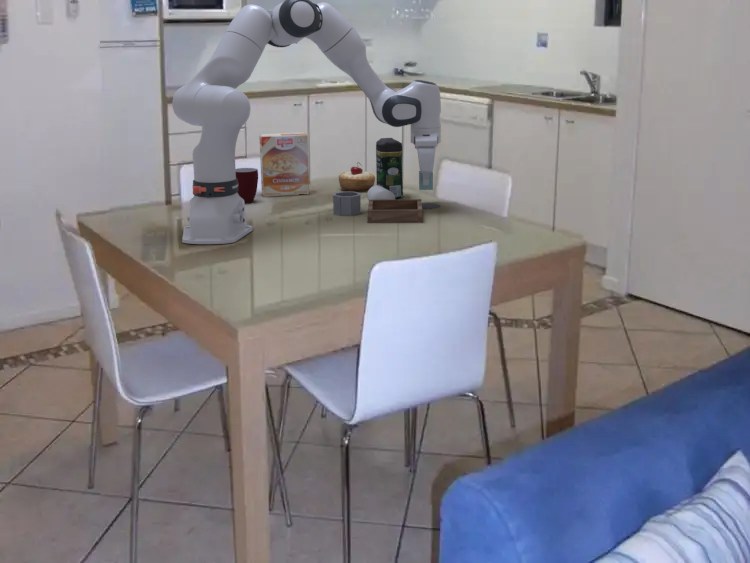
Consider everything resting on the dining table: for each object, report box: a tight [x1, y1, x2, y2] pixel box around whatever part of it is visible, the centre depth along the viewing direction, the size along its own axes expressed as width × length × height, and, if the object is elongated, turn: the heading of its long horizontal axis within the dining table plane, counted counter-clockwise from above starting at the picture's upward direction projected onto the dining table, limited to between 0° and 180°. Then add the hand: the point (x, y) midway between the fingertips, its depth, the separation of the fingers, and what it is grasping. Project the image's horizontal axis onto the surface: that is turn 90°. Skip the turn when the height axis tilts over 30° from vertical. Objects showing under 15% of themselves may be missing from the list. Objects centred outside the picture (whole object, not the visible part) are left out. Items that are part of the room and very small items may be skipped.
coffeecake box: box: [258, 131, 310, 198], centre depth 296 cm, size 15×7×20 cm, turn 103°
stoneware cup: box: [332, 191, 362, 216], centre depth 267 cm, size 8×8×6 cm
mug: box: [235, 167, 259, 204], centre depth 287 cm, size 10×8×10 cm
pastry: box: [338, 161, 376, 192], centre depth 304 cm, size 12×12×9 cm
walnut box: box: [366, 198, 423, 224], centre depth 261 cm, size 15×15×4 cm
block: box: [418, 170, 434, 191], centre depth 273 cm, size 4×4×5 cm
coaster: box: [422, 202, 441, 211], centre depth 275 cm, size 9×9×1 cm
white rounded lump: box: [366, 184, 397, 202], centre depth 276 cm, size 9×6×6 cm, turn 18°
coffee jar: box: [375, 137, 404, 199], centre depth 290 cm, size 10×8×19 cm
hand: (425, 183), depth 273 cm, fingers closed on block, 4 cm apart
